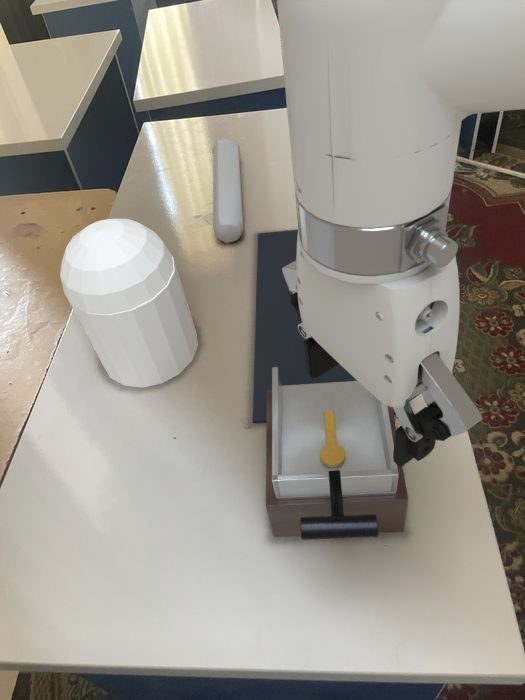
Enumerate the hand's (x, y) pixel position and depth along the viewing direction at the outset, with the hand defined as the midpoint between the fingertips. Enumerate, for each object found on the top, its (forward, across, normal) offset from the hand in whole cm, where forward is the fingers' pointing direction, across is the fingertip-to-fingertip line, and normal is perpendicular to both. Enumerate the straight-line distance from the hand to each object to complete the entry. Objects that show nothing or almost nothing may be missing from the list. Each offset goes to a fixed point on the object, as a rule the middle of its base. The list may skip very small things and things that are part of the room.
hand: (366, 407), depth 42 cm
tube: (+21, +58, -20) cm, 65 cm away
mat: (+21, +27, -16) cm, 38 cm away
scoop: (+14, +4, 0) cm, 15 cm away
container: (+21, +37, +7) cm, 43 cm away
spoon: (+13, +6, -1) cm, 15 cm away
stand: (+21, +7, -1) cm, 22 cm away
